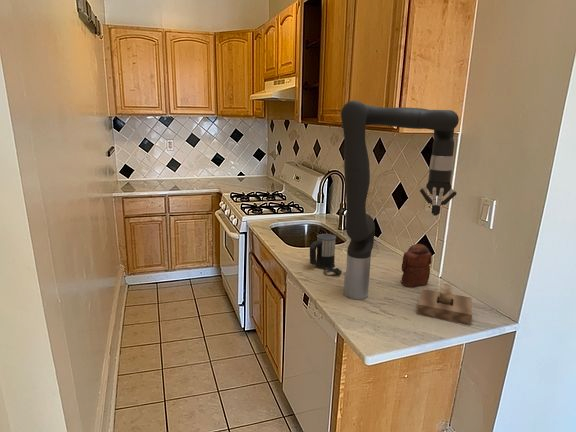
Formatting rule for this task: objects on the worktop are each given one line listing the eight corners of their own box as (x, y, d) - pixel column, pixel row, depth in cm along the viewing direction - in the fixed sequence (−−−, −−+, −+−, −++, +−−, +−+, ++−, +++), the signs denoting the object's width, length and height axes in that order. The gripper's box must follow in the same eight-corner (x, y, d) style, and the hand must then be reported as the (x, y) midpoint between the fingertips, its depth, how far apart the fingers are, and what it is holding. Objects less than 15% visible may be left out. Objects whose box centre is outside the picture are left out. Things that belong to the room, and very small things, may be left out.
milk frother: (322, 260, 191) (323, 232, 187) (350, 268, 182) (352, 238, 178) (306, 270, 180) (307, 239, 176) (336, 278, 171) (337, 247, 167)
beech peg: (437, 312, 144) (440, 287, 141) (438, 307, 147) (441, 282, 145) (449, 314, 142) (452, 289, 139) (449, 309, 146) (453, 285, 143)
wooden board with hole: (416, 314, 142) (417, 304, 141) (420, 297, 154) (421, 288, 153) (470, 325, 135) (472, 314, 134) (470, 307, 147) (471, 297, 146)
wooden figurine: (420, 279, 171) (425, 240, 166) (430, 285, 165) (434, 245, 160) (397, 282, 168) (401, 243, 163) (406, 288, 162) (410, 248, 157)
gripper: (420, 168, 137) (415, 215, 142) (460, 170, 132) (454, 219, 137) (422, 165, 144) (417, 210, 148) (461, 168, 138) (455, 214, 143)
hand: (435, 215), depth 142 cm, fingers closed
